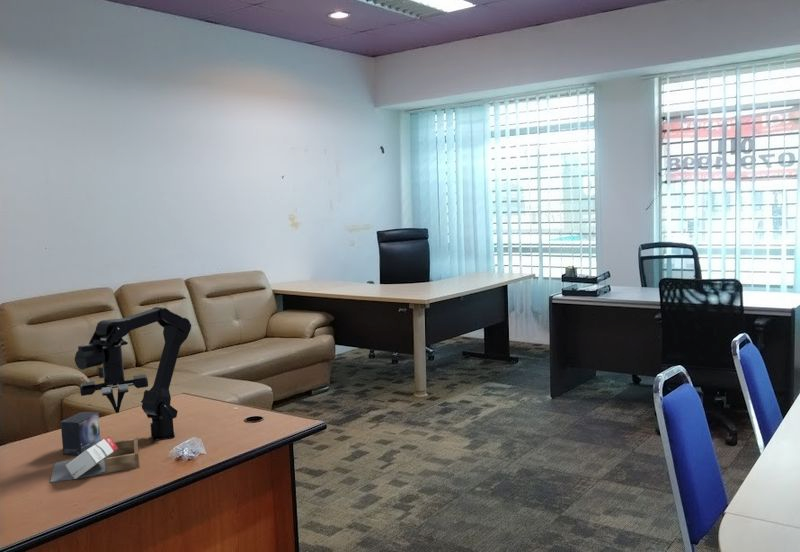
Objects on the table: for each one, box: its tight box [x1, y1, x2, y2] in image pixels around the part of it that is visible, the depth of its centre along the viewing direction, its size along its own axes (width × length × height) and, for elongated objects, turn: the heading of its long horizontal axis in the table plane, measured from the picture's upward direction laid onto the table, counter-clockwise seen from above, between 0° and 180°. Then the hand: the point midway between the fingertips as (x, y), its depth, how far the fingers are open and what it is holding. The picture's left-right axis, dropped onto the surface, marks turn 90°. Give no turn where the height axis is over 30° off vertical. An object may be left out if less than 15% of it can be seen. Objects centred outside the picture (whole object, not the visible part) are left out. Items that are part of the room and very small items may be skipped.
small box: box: [60, 411, 101, 456], centre depth 221 cm, size 11×6×10 cm, turn 168°
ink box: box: [65, 435, 118, 480], centre depth 201 cm, size 9×5×12 cm
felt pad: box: [49, 459, 107, 484], centre depth 205 cm, size 14×16×1 cm
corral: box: [104, 437, 140, 474], centre depth 209 cm, size 9×15×4 cm, turn 21°
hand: (117, 412), depth 215 cm, fingers closed
